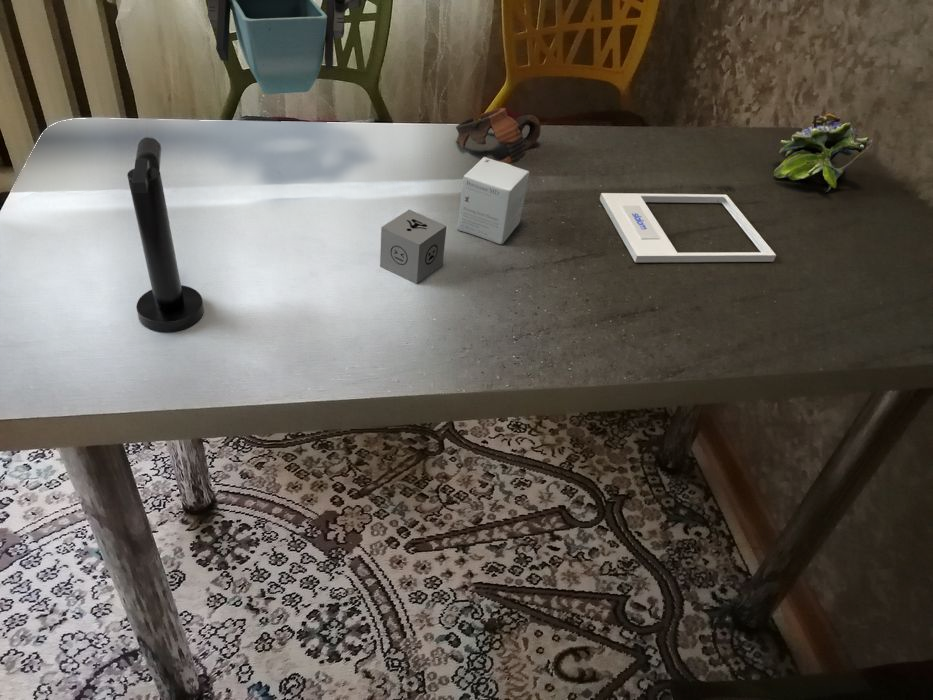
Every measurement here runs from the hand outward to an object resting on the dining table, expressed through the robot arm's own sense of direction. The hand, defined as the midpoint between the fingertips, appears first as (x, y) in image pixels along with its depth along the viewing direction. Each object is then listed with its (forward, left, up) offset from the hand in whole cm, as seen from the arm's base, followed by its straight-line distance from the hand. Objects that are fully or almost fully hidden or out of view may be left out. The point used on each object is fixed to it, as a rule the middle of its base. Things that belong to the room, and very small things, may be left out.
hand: (275, 59), depth 81 cm
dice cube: (+17, +13, -17) cm, 27 cm away
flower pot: (-3, +1, -4) cm, 5 cm away
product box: (+10, +24, -17) cm, 30 cm away
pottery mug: (-7, +30, -17) cm, 35 cm away
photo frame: (+13, +49, -17) cm, 53 cm away
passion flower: (+2, +76, -17) cm, 78 cm away
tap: (+20, -12, -16) cm, 29 cm away
